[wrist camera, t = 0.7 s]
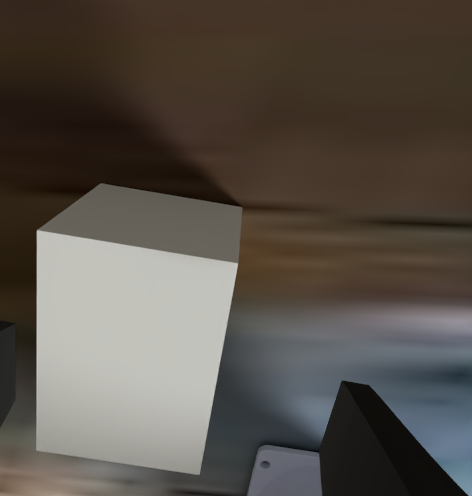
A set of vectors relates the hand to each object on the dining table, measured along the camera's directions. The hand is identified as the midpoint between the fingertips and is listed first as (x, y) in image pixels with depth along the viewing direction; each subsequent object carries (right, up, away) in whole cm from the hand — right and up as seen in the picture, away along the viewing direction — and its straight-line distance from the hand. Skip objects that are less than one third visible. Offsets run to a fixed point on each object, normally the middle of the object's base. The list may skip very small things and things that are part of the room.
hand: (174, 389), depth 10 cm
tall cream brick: (-2, +1, +11) cm, 11 cm away
